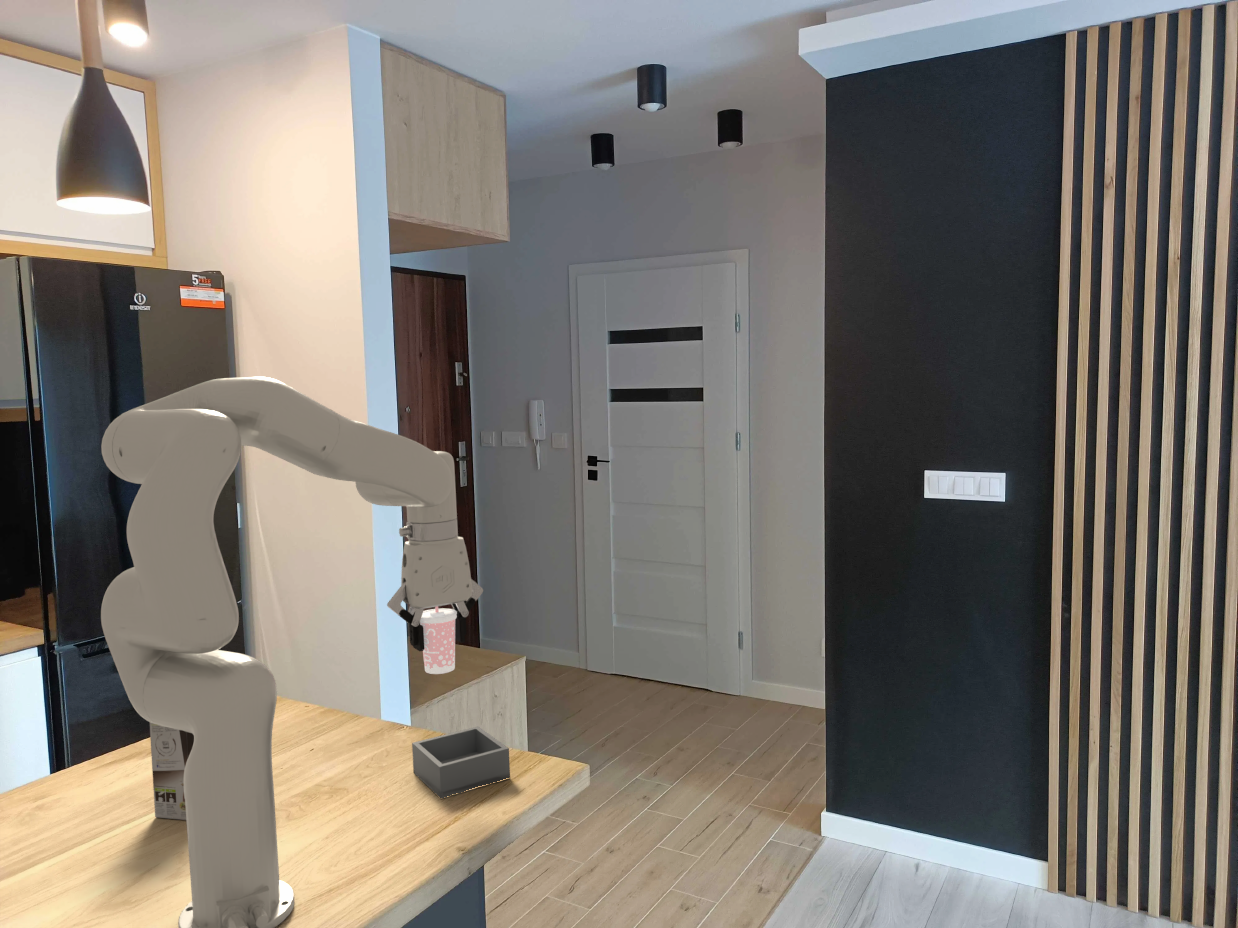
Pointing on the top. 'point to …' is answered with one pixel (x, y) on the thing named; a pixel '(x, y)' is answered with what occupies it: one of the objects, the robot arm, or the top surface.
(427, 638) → the beverage cup
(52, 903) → the top surface
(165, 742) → the coffee box
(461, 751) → the crate
